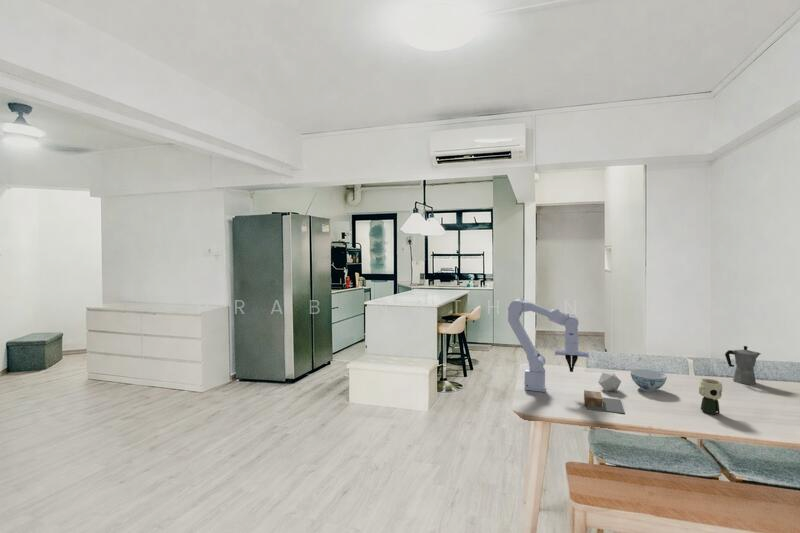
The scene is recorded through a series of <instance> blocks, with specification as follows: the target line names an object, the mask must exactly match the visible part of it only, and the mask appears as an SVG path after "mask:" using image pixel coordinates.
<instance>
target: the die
mask: <svg viewBox="0 0 800 533" xmlns="http://www.w3.org/2000/svg"><path fill="white" fill-rule="evenodd" d="M597 383H598V384H599V386H601V388H602V389H603V390H604V391H605V392H617V391H618V389H619V388H620V385H621V383H622V381H621V379H620V378H619V377H618V375H616V373H615V372H602V373H601V375H600V378H599V380H598V382H597Z"/></svg>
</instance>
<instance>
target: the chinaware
mask: <svg viewBox="0 0 800 533" xmlns="http://www.w3.org/2000/svg"><path fill="white" fill-rule="evenodd" d="M629 373H630V376H631V380H632V381H633V383H634V384H635V385H636V386H637V387H639V390H641V391H643V392H646V393H655V392H656V391H657V390H659V389H660V388H662V387H663V386H664V385H665V383H666V381H667V378H668V375H667V374H665V373H664V372H662V371H659V370H653V369H646V368H645V369H644V368H635V369H631V370H630V371H629Z"/></svg>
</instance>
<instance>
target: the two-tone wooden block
mask: <svg viewBox="0 0 800 533" xmlns="http://www.w3.org/2000/svg"><path fill="white" fill-rule="evenodd" d="M602 397H603V394H602V392H601V391H595V390H587V389H586V390H585V389H584V390H583V401H584V406H587V405H588V406H596V407H603V398H604V397H603V398H602Z"/></svg>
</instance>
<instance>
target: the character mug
mask: <svg viewBox="0 0 800 533" xmlns="http://www.w3.org/2000/svg"><path fill="white" fill-rule="evenodd" d="M722 392H723V384H722V382H721V381H720V380H718V379H713V378H701V379H700V382H699V387H698V394H699V395H700V396H702V398H701V404H700V405H701V406H700V410H701V411H702V412H705V413H707V414H711V415H716V414H720V402H719V399H721V398H722V395H723V394H722Z"/></svg>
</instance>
